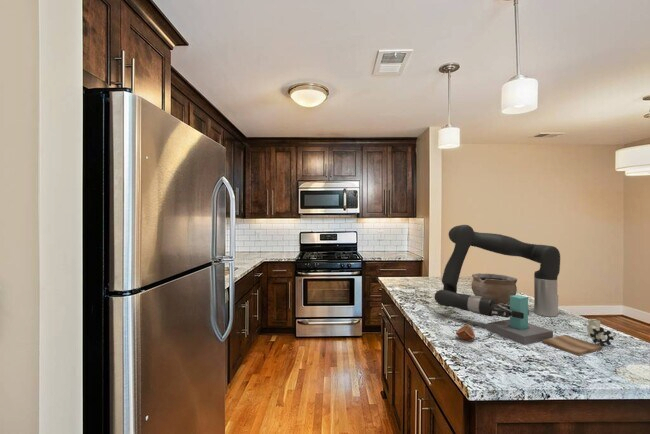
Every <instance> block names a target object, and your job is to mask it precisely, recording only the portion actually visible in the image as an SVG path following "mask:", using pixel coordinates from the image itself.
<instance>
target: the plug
mask: <svg viewBox="0 0 650 434" xmlns="http://www.w3.org/2000/svg"><path fill="white" fill-rule="evenodd" d="M509 304H510V310H512V312H513V311H516V312H521V313H524V318H523V319H521V318H516V317H513V316H512V317H509V319H510V327H513V328H516V329H519V330H524V329H528V323H529V315H528V310H529V296H528V297H527V296H523V295H519V294H516V295H513V296H510V302H509Z"/></svg>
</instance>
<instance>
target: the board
mask: <svg viewBox="0 0 650 434" xmlns="http://www.w3.org/2000/svg"><path fill="white" fill-rule="evenodd" d="M541 344H544V345H546V346H550V347H552V348H556V349H558V350H561V351H564V352H567V353H568V354H569V353H570V354H573V355H575V356H577V357H579V356H583V355H586V354H590V353H594V352H598V351H601V350H603V347H604V346H601V345H600V344H597V343H594V342H589V341H586V340H583V339H579V338H577V337H573V336H570V335H567V334H564V335H560V336H559V335H558V336H555V337H554V336H553V338H549V339H544V340H542V341H541Z"/></svg>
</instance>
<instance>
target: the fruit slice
mask: <svg viewBox="0 0 650 434" xmlns="http://www.w3.org/2000/svg"><path fill="white" fill-rule="evenodd" d="M455 334H456V336H457V337H459V338H460V339H461V340H465V341H472V340H474V339H476V334H475V332H474V330H473V329H472V327H471V326H470V324H469V323H467V324H465V325H463V326H461V327H460V328H459V329H457V330H456V332H455Z"/></svg>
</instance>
